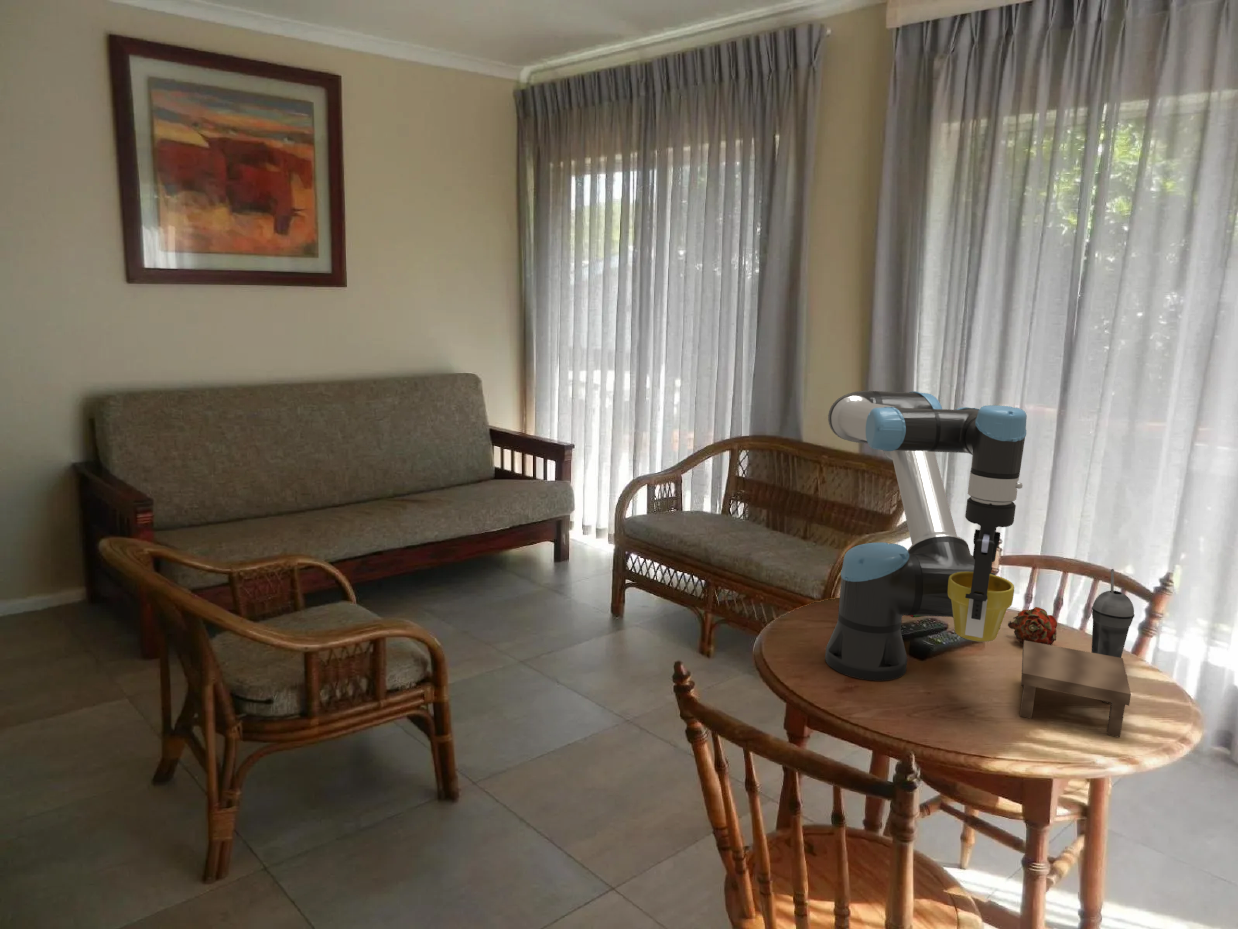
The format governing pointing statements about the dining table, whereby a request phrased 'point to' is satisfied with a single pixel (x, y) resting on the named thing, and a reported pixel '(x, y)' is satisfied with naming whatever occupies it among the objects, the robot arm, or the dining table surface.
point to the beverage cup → (1111, 621)
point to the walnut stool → (1075, 678)
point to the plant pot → (996, 606)
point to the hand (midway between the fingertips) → (975, 624)
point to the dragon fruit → (1034, 626)
